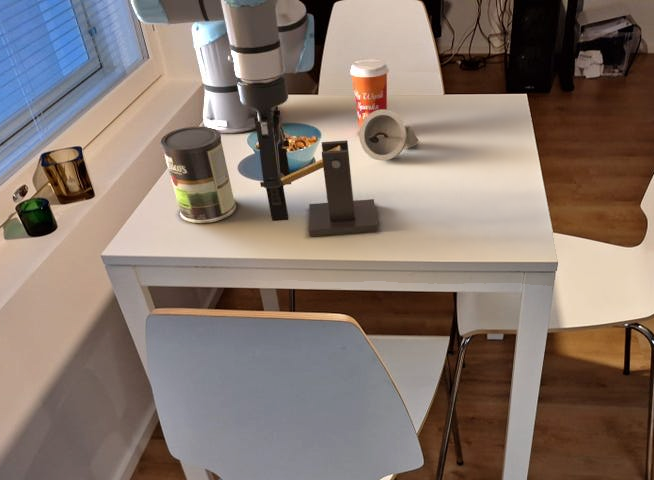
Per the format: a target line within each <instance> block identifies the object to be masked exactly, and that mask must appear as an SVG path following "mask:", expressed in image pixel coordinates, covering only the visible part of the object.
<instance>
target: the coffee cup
mask: <svg viewBox="0 0 654 480" xmlns="http://www.w3.org/2000/svg"><path fill="white" fill-rule="evenodd" d="M389 72H390V69H389V68H388V66H387V64H386V62H385V61H383V60H381V59H376V58H367V59H366V58H365V59H360V60H356V61H355V62H353V64H352V65H351V69H350V71H349V73H350V75H351V78H352V79H351V80H352V87H353V93H354V99H355V107H356V114H357V121H358V128H359V129H360V128H361V125H362V123H363V121H364V119H365V118H366V117H367V116H368V115H369V114H370V113H372V112H374V111H376V110H381V109H385V110H388V73H389Z"/></svg>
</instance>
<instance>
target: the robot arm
mask: <svg viewBox="0 0 654 480" xmlns="http://www.w3.org/2000/svg"><path fill="white" fill-rule="evenodd" d="M130 3H131V5H132V8H133V10H134V13H135V15H136V16H137V18H138V20H139V21H140V22H141V23H143V24H145V25H160V26H161V25H163V26H164V25H166V26H170V25H177V24H190V23H193V24H192V26H191V34H192V39H193V40H192V41H193V48H194V50H195V54H196V59H197V63H198V67H199V71H200V75H201V79H202V83H203V84H202V85H203V88H204V100H203V111H202V120H203V124H204V127H210V128H214V129H216V130H218V131H219V132H220V134H239V133H245V132H250V131H253V130H255V131H256V135H257V143H258V150H259V159H260V166H261V175H262V181H260V183H259V184H260V188H264V189H265V190H266V196H267V200H268V201H267V202H268V207H269V211H270V217H271V221H272V222H281V221H283V222H284V221H289V219H290V217H289V211H288V206H287V202H286V200H287V199H286V194H285V187H284V186H283V182H282V180H281V176H280V172H281V173H283V174H284V177H285V176H287V175H289V174H291V172H290V166H289V158H288V152H287V148H290V140H289V139H286V134H285V130H284V126H283V122H282V112H281V110H280V109H279V106H281V105H283V104H285V103H286V102H287V101H288V98H289V91H288V86H287V85H288V84H287V79H286V78H287V77H286V76H285V75H284V74H298V73H304V72H309V71H311V70H312V69H313V68H314V65H315V19H314V15H313V14H311V13H307V8H306V5H305V4H304V3H303V2H302V1H300V0H130ZM286 185H292V182H291V183H289V184H286ZM286 185H285V186H286Z"/></svg>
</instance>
